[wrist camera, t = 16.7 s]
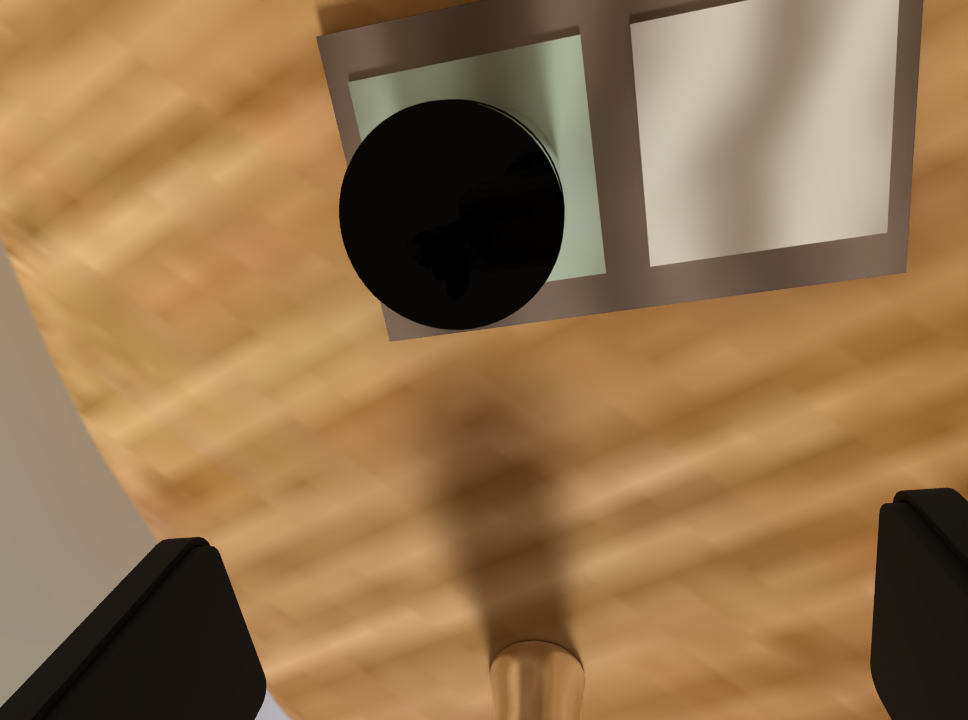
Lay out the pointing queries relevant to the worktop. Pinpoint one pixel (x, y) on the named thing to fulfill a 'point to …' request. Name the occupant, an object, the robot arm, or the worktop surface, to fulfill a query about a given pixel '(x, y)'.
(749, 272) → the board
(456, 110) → the supplement container
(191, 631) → the robot arm
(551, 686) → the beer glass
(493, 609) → the worktop surface
